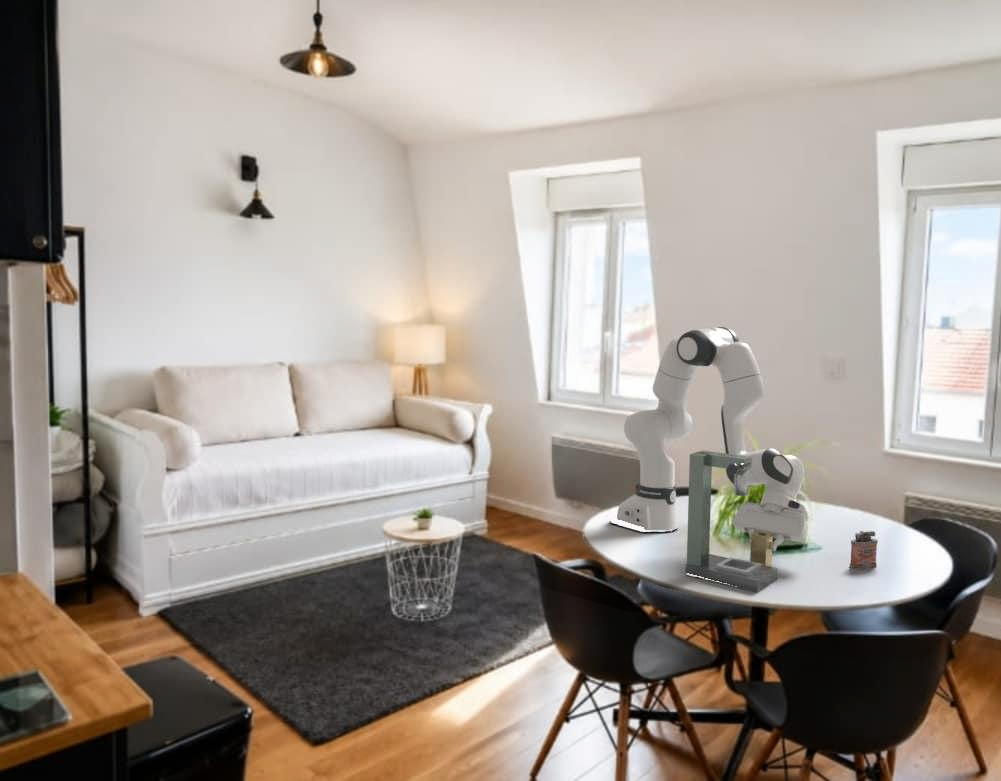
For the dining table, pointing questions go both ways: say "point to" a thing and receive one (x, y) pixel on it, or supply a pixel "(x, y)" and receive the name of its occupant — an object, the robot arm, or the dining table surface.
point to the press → (699, 524)
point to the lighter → (863, 550)
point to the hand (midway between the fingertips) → (761, 547)
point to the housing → (761, 548)
